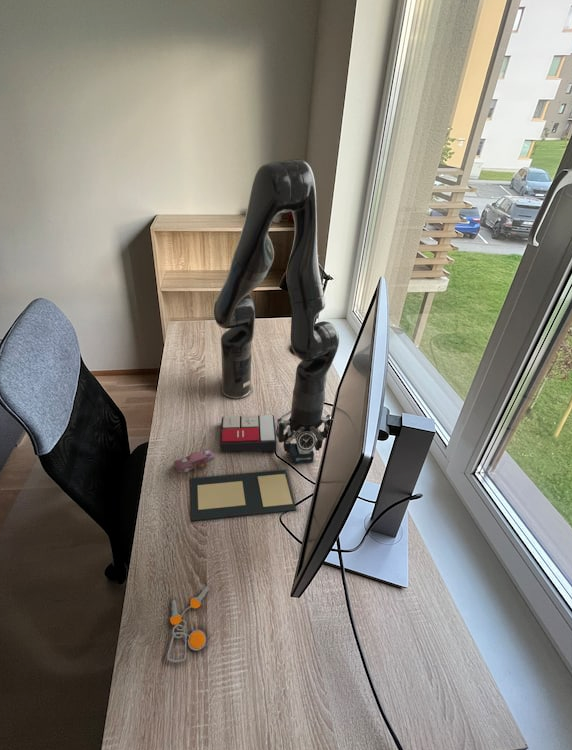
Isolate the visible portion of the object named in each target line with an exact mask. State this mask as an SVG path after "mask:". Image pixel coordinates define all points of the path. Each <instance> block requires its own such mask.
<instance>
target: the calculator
mask: <svg viewBox="0 0 572 750" xmlns="http://www.w3.org/2000/svg"><path fill="white" fill-rule="evenodd" d="M275 421H276V420H275V415H274V414H260V415H258V414H247V415H246V414H245V415H224V416H222V417H221V423H220V425H221V426H220V439H219V446H220V452H247V451H249V452H250V451H260V452H276V451H277V431H276V422H275Z"/></svg>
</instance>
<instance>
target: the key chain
mask: <svg viewBox="0 0 572 750" xmlns="http://www.w3.org/2000/svg"><path fill="white" fill-rule="evenodd" d="M209 591H210V588H209V586H205V587H204V588H203V590H201V592H200V593H199V594H198V596H196V597H192V598H191V599H190V601H189V604H190V605H189V606H187V607H186V608H185V609H183V611H182V612H181V614H180V613H178V606H177V600H176V599H173V600H171V602H170V604H171V608H170V610H171V616H170V617H169V622H170V624H171V625H172V626H173V627H172V629H171V634H172V636H171V640H170V642H169V646H168V650H167V654H166V661H168V662H169V663H175V664H177V663H178V664H179V663H182V662H183V663H184V662H186V660H187V656H188V655H187V644H188V648H190V650H192V651H193V652H199V651H201V650H203V649H204V647H205V645H206V643H207V636H206V633H205V632H204V631H203V630H201V629H195V630H193V631H192V632H191V633H190V634H188V633H186V628H187V621H186V620H184V619H182V618H183V616H184V614H185V613H186V611H188V610H189V609H193V610H194V609H199V608H200V607H201V605H202V601H203V598H205V597H206V595H207V592H209ZM181 622H183V623H184V625H182V624H180V623H181ZM180 628H181V629H180ZM175 629H176V630H177V632H175ZM187 637H188V638H187ZM182 638H183V641H184V654H183V658H181V659H172V658H170V655H171V650H172V646H173V642H174V640H175V639H182Z"/></svg>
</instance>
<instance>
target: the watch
mask: <svg viewBox="0 0 572 750" xmlns="http://www.w3.org/2000/svg"><path fill="white" fill-rule="evenodd" d="M315 437H316V436H315V435H314V433H313V432H312V431H303V432H301V433H300V434H299V435H298V436H297V437H296V438H295V442H293V443H291V446H290V453H288V454H289V457H290V461H291V464H292V465H299V464H309V463H314V458H315V457H314V456H315V452H314V449H315V444H316V441H317V438H315Z"/></svg>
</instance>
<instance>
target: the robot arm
mask: <svg viewBox="0 0 572 750" xmlns="http://www.w3.org/2000/svg"><path fill="white" fill-rule="evenodd" d="M316 189H317V188H316V181H315V175H314V172H313V169H312V167H311V166H310V164H309V163H308V162H307V161H306V160H303V159H301V158H300V159H299V158H298V159H297V158H296V159H295V158H294V159H286V160H279V161H278V160H277V161H271V162H267V163H264V164H263V165H261V166H260V167H258V169H257V171H256V173H255V174H254V177H253V179H252V183H251V188H250V192H249V198H248V202H247V203H248V204H247V208H246V213H245V218H244V222H243V225H242V228H241V232H240V235H239V238H238V241H237V243H236V247H235V249H234V253H233V255H232V259H231V262H230V267H229V269H228V272H227V275H226V278H225V280H224V282H223V285H222V287H221V288H220V291H219V293H218V295H217V296H216V299H215V302H214V306H213V317H214V320H215V323H216V325H217V326H218V327H220V328H221V329H227V330H226V331H225V332H224V333H222V335H221V337H220V351H221V352H220V355H221V358H220V359H221V392H222V394H223V395H224V396H225V397H227V398H229V399H233V400H234V399H236V400H237V399H244V398H246V397H247V396H249V395H250V393H251V392H252V345H253V344H252V342H253V341H254V335H255V322H256V306H255V302H254V298H253V297H252V296H251V293H252V292H253V291H254V290H255V289H257V288H258V287H259V286H260V285H261V284H262V283H263V282H264V281H265V279H266V277H267V275H268V274H269V271H270V270H271V267H272V265H273V262H274V259H275V250H274V249H275V248H274V246H273V242H272V240H271V238H270V235H269V231H270V229H271V226H272V223H273V221H274V220H275V218H276V217H277V216H278V215H280V214H285V213H289V212H291V213H292V218H293V222H294V237H293V242H292V247H291V252H290V255H289V260H288V262H287V266H286V286H287V290H288V291H287V292H288V297H289V301H290V306H291V317H290V318H291V319H290V334H289V335H290V336H289V337H290V338H289V340H290V346H291V350H292V351H293V354H294V355H295V356H296V358H298V359H299V360H300V362H299V363H298V364H297V366H296V369H295V378H294V379H295V380H294V386H293V390H292V396H291V397H292V398H291V408H290V409H291V410H290V417H289V418H288V420H287V419H286V420H283V419H282V418H278V419H277V423H276V438H277V441H278V443H279V444H282V443H283V446H282V447H283V450H284V452H286V454H289V453H290V446H291V444H292V443H291V442H293V440H296V437H297V436H298V435H299V434H300V433H301V432H303V431H312V432H313V434H314V436H315V438H317V441H316V444H315V446H314V449H315V451H316V452H319V451H320V449H322V446H323V441H324V440H325V439H327V434H328V430H329V426H330V421H331V417H332V415H331V414H327V415H326V416H325V417H323V411H324V406H325V405H324V403H325V402H326V386H327V385H326V383H327V378H328V377H327V376H328V372H329V370H330V368H331V366H332V364H333V361H334V360H335V357H336V355H337V352H338V349H339V345H340V336H339V332H338V330H337V327H336V326H335V325H334V324H333V323H332V322H330V321H319V322H316V323H315V321H316V317H317V316H318V315H319V314H320V313H321V312H323V311H324V310H325V307H326V300H325V296H324V295H325V294H324V289H323V288H324V287H323V282H322V276H321V271H320V265H319V252H318V250H319V249H318V214H317V213H318V212H317V210H318V209H317V191H316ZM322 425H324V427H323V430H322V431H321V429H319V428H320V426H322ZM287 427H288V428H287ZM286 429H287V431H286ZM285 431H286V432H285Z"/></svg>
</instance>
